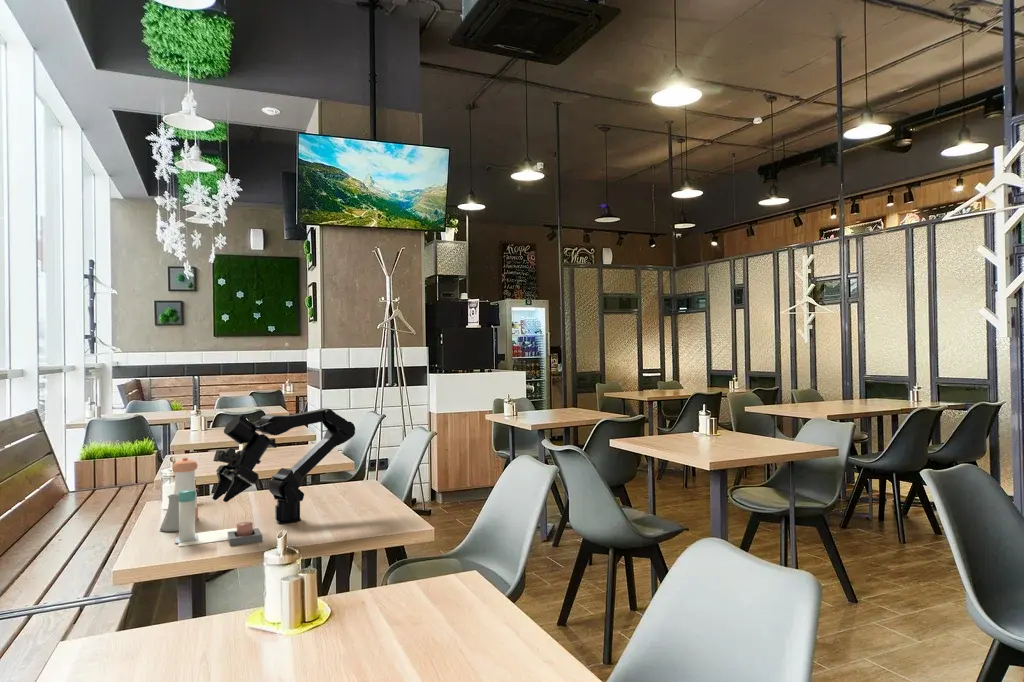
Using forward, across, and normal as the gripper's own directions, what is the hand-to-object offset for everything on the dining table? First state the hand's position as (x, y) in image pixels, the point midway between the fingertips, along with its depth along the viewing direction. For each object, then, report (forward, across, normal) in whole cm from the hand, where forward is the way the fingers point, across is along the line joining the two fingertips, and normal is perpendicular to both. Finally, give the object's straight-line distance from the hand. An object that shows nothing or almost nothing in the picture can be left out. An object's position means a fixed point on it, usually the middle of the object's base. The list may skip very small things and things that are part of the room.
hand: (219, 500), depth 182 cm
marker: (+12, -2, 0) cm, 12 cm away
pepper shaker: (+7, -28, +3) cm, 29 cm away
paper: (+9, -1, +4) cm, 10 cm away
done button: (+5, +9, +9) cm, 13 cm away
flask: (+11, -18, 0) cm, 21 cm away
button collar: (+6, +9, +10) cm, 14 cm away
